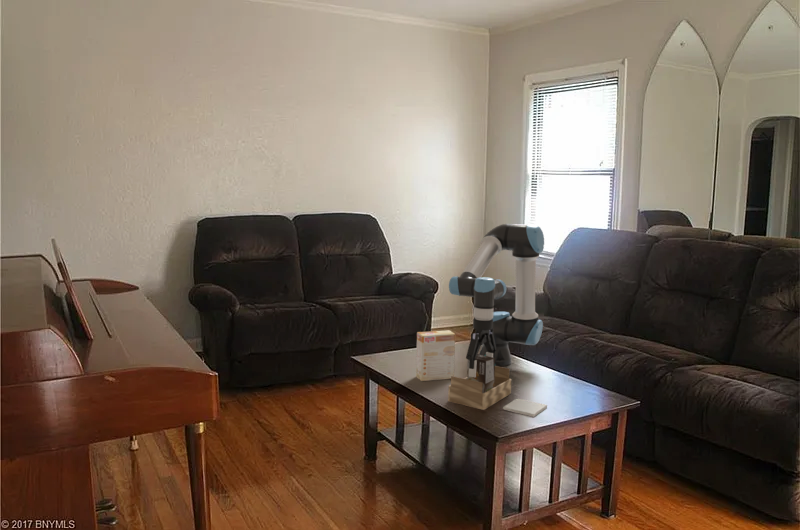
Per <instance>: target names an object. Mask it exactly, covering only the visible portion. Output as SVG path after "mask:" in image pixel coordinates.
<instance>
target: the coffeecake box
mask: <svg viewBox="0 0 800 530" xmlns="http://www.w3.org/2000/svg"><path fill="white" fill-rule="evenodd" d="M455 345H456V333H454V332H453V331H451V330H449V329H448V330H433V331H417V332H416V359H415V360H416V364H415V365H416V366H415V377H416V378H417V379H418V380H419V381H420V382H425V381H429V382H430V381H437V380H438V381H439V380H440V381H441V380H451V376H454V377H455V357H456V356H455V355H456V354H455V353H456V351H455V350H456V346H455Z"/></svg>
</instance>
